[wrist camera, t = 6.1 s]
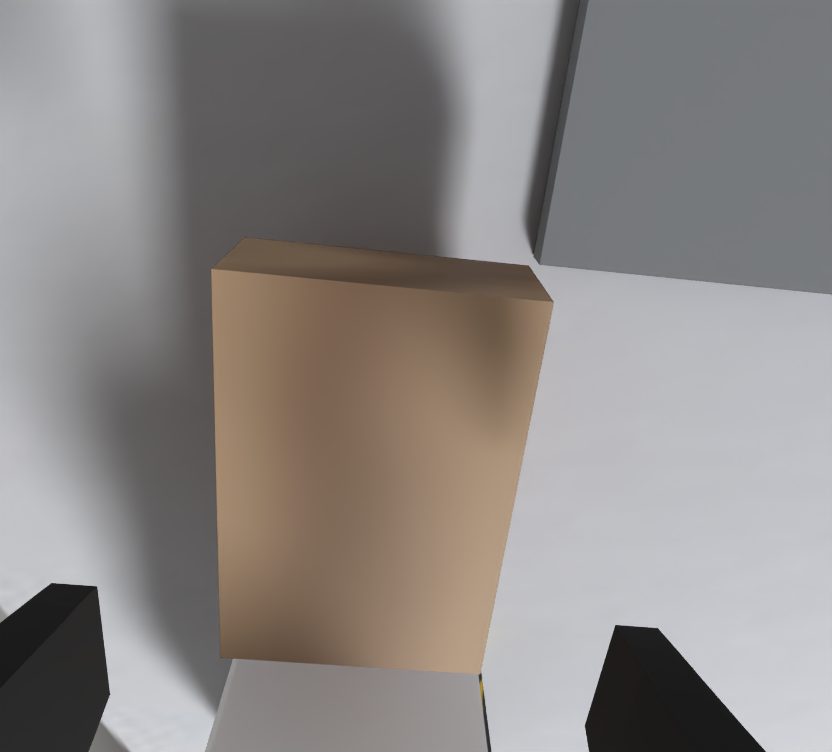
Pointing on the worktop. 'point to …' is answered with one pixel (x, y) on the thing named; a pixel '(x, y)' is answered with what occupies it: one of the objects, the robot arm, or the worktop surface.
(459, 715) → the medicine bottle
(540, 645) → the worktop surface
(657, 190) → the mat
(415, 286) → the tan cardboard box
